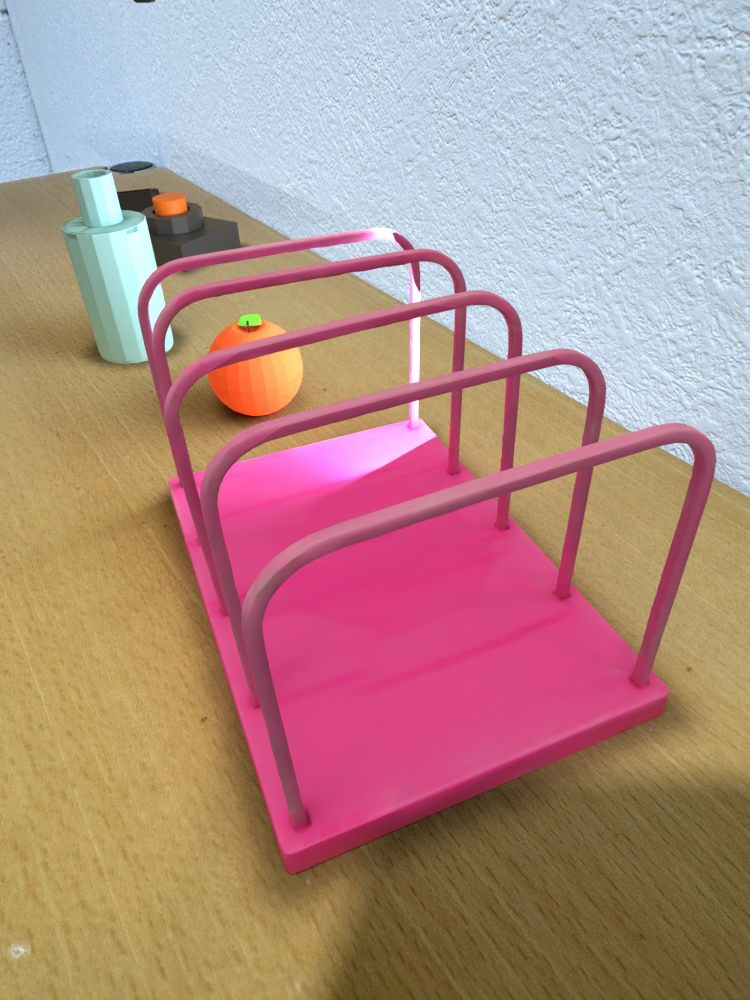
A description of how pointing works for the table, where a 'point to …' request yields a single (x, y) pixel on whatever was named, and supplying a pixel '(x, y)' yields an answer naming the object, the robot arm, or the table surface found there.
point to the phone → (137, 199)
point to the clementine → (255, 370)
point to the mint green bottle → (112, 267)
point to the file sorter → (400, 577)
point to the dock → (189, 234)
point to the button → (169, 204)
